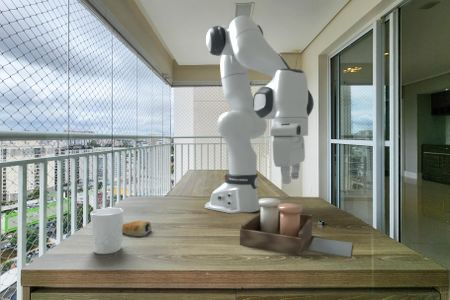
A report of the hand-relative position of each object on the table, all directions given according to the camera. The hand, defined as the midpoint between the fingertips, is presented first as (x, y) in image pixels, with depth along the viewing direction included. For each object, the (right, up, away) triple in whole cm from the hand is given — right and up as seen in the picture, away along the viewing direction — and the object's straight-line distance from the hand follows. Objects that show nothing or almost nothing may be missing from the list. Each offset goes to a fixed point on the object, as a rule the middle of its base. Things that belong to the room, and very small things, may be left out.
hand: (291, 181), depth 80 cm
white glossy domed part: (-5, -16, +8) cm, 19 cm away
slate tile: (+10, -18, -2) cm, 20 cm away
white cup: (-48, -18, -3) cm, 51 cm away
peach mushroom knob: (0, -17, +1) cm, 17 cm away
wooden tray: (-3, -17, +3) cm, 18 cm away
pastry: (-45, -17, +10) cm, 49 cm away
